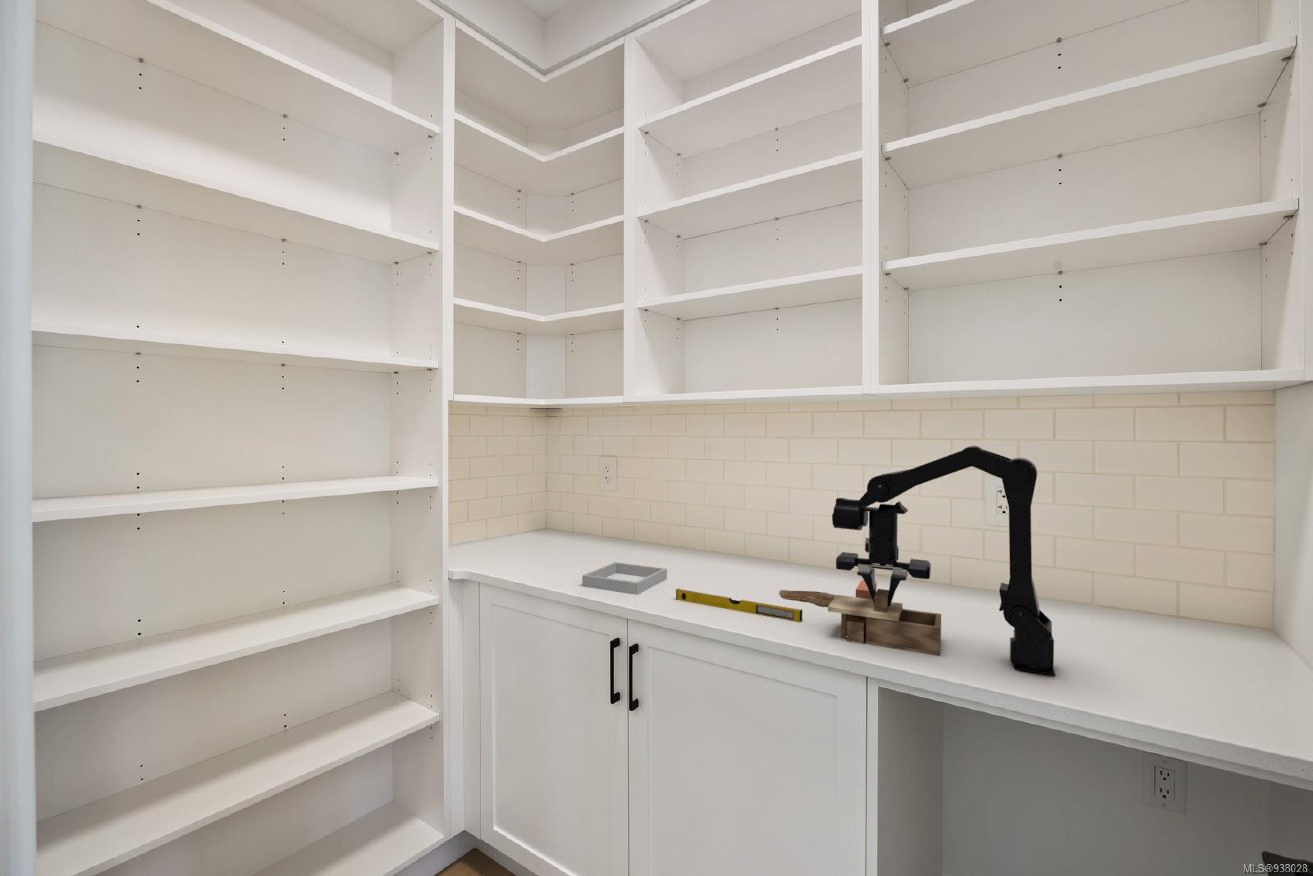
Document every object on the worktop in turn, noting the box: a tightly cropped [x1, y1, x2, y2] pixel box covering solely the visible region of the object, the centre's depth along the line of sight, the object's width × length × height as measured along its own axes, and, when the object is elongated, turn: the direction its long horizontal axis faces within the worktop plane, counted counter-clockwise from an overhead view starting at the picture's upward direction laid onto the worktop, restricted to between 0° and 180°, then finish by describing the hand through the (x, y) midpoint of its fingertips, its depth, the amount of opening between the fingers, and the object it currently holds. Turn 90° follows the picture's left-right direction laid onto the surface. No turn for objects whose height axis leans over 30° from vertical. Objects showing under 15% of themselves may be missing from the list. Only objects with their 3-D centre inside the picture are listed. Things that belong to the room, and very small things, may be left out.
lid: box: [827, 588, 904, 621], centre depth 129 cm, size 14×10×4 cm
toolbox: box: [840, 608, 942, 656], centre depth 132 cm, size 19×21×6 cm
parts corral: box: [581, 561, 668, 595], centre depth 172 cm, size 18×18×3 cm
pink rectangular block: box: [855, 579, 878, 599], centre depth 140 cm, size 4×9×4 cm, turn 153°
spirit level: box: [675, 587, 803, 623], centre depth 147 cm, size 33×1×3 cm, turn 58°
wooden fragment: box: [778, 589, 837, 607], centre depth 155 cm, size 26×11×1 cm, turn 53°
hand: (882, 604), depth 128 cm, fingers closed on lid, 2 cm apart
